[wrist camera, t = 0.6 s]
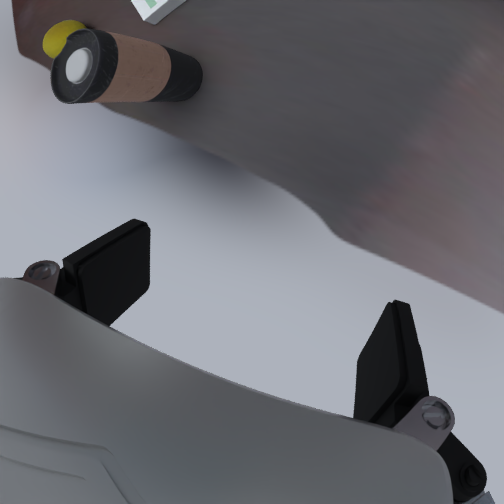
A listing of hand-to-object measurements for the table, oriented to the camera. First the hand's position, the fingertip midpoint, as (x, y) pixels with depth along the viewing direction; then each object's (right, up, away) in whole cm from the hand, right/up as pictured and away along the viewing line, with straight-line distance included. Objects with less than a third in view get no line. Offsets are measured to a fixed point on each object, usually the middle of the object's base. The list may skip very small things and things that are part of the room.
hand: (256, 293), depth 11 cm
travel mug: (-10, +26, +26) cm, 38 cm away
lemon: (-31, +40, +26) cm, 57 cm away
